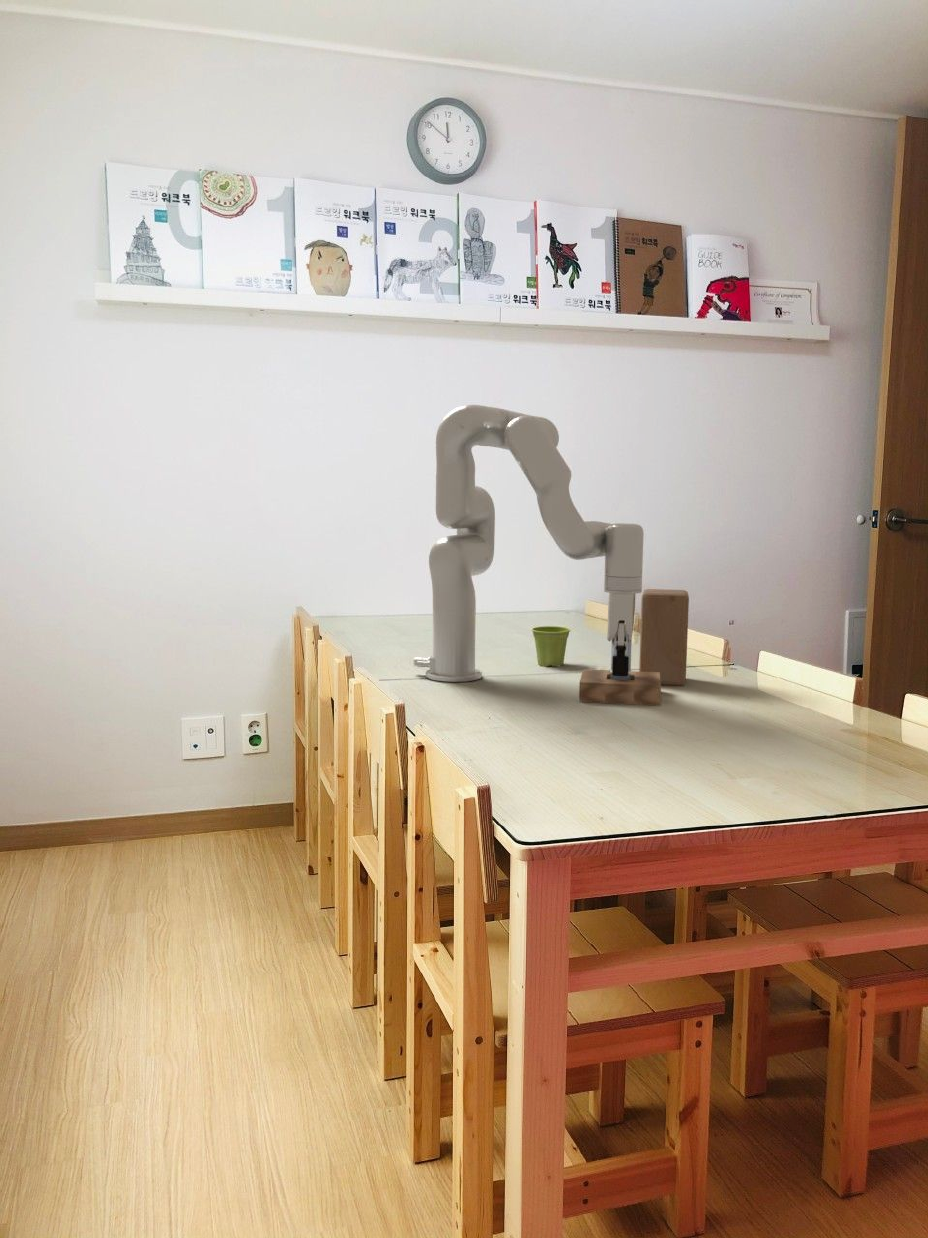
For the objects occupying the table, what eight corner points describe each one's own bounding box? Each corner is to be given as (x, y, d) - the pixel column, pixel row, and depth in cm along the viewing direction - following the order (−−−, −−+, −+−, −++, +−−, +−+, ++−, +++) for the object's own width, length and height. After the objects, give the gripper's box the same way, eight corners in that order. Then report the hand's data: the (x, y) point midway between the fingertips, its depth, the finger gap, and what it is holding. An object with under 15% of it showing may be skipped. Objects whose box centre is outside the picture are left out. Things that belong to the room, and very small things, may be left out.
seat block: (579, 702, 203) (579, 682, 203) (582, 687, 217) (583, 669, 216) (660, 705, 200) (661, 685, 200) (658, 690, 214) (659, 672, 214)
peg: (609, 692, 207) (611, 634, 205) (609, 688, 211) (611, 631, 209) (630, 693, 206) (632, 635, 204) (630, 689, 210) (632, 631, 209)
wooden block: (685, 686, 219) (689, 594, 216) (638, 684, 221) (641, 593, 218) (685, 677, 229) (688, 589, 226) (640, 675, 231) (642, 588, 228)
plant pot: (551, 669, 237) (551, 633, 236) (522, 664, 244) (523, 628, 243) (578, 665, 243) (579, 629, 242) (549, 659, 250) (550, 624, 249)
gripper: (605, 580, 214) (603, 665, 217) (603, 588, 198) (600, 680, 200) (641, 581, 213) (638, 666, 216) (642, 589, 197) (639, 682, 199)
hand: (620, 672), depth 208 cm, fingers closed on peg, 4 cm apart
